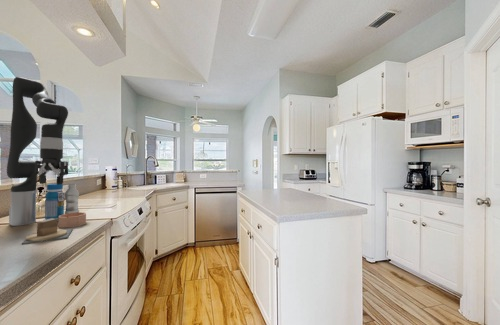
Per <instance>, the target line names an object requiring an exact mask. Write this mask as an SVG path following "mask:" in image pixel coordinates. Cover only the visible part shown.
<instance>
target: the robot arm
mask: <svg viewBox="0 0 500 325" xmlns="http://www.w3.org/2000/svg"><path fill="white" fill-rule="evenodd" d="M24 98H29V99H31V101H32V103H33V104H34V106H35V107H36V110H35V111H36V115H37V116H38V117H40V118H42V119H46V120H55V122H54V123H45V124H43V125H41V131H40V132H41V135H40V136H41V137H40V146H39V154H40V155H39V157H40V159H42V160H20V157H21V155H22V153H23V151H24V150H25V149H26V148H27V147H29V145H30V144H31V143H33V142H34V140H35V139H36V138H37V132H38V131H37V130H38V124H37V122H36V120H35V118H34V117H33V116H32V114H31V113H30V112H29V110H28V108H27V107H26V104H25V102H24ZM68 116H69V111H68V108H67V107H66V106H64V105H61V104H57V103H56V102H55V100H53V98H51V97H50V95H49V93H48V91H47V88H46V86H44V84H43V83H41V82H40V81H37V80H33V79H29V78H25V77H21V76H16V77H14V78H13V82H12V114H11V123H10V124H11V125H10V142H9V152H8V158H7V164H6V176H7V178H9V179H25V180H24V181H23V182H20V183H18V184H15V185H12V186H11V187H10V206H8V207H9V208H8V212H9V213H8V225H10V226H13V227H14V226H16V227H17V226H26V225H31V224H34V223H37V220H36V218H37V217H36V215H37V184H38V182H39V184H41V185H43V184H46V183H47V174H48V173H49V172H50V171H51V172H54V173H55V175H56V184H57V185H60V184H64V176H66V175H67V176H68V174H69V162H68V161H64V160H63V161H62V159H63V157H64V141H63V134H64V133H63V131H64V127H65V124H66V121H67V119H68Z"/></svg>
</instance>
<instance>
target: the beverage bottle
mask: <svg viewBox="0 0 500 325" xmlns="http://www.w3.org/2000/svg"><path fill="white" fill-rule="evenodd" d="M63 184H64V183H63ZM63 184H60V185H57V183H47V184H46V190H47V192H46V194H45V195H44V196H45V197H44V198H45V199H44V220H47V219H51V218H53V219H57V220H59V215H63V214H65V192H63V188H64V185H63Z"/></svg>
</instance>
